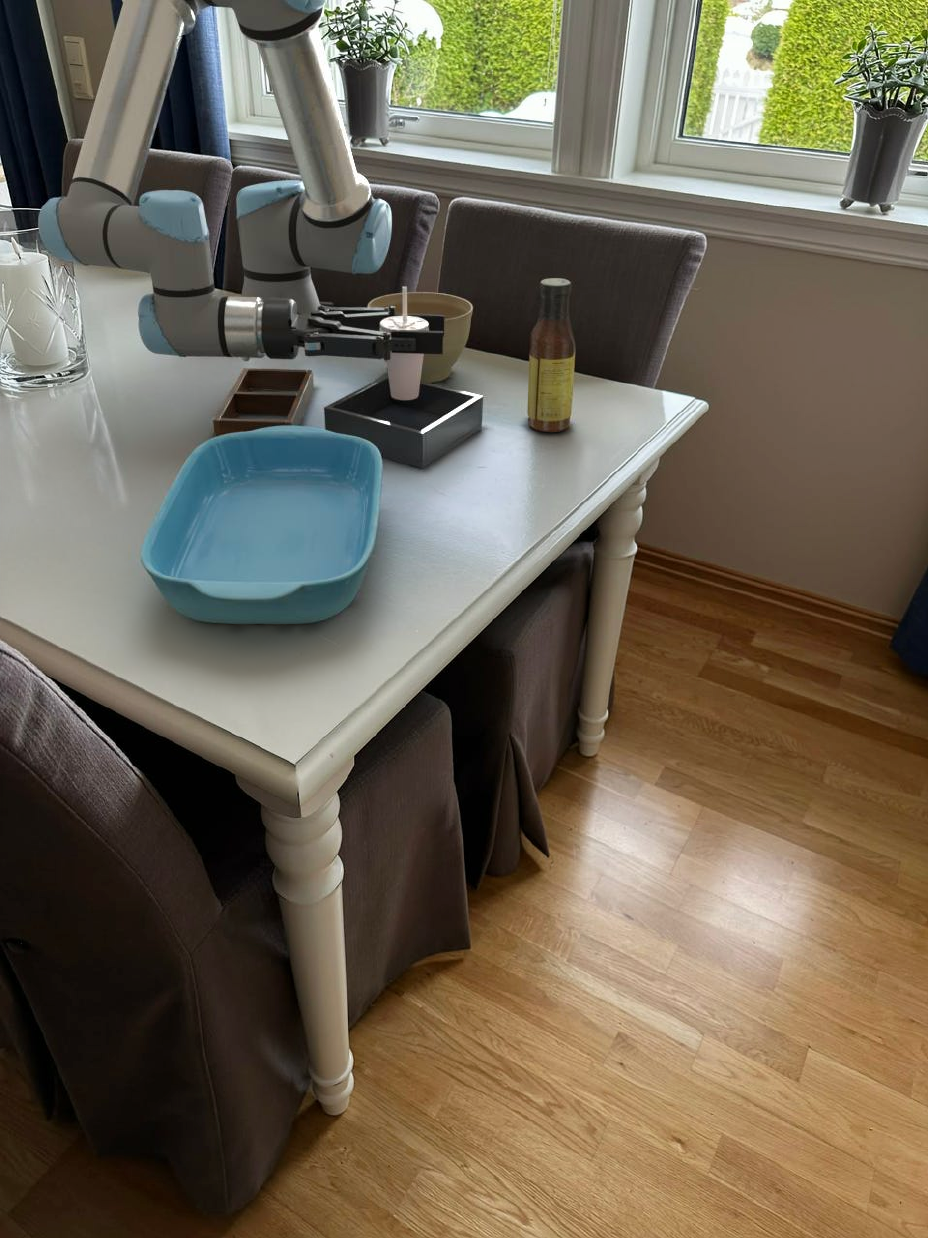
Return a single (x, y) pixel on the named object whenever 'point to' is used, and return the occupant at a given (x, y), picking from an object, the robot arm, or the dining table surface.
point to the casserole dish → (267, 526)
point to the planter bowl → (454, 326)
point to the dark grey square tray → (407, 420)
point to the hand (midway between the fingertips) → (443, 333)
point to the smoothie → (404, 356)
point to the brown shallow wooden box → (265, 399)
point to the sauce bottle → (551, 360)
